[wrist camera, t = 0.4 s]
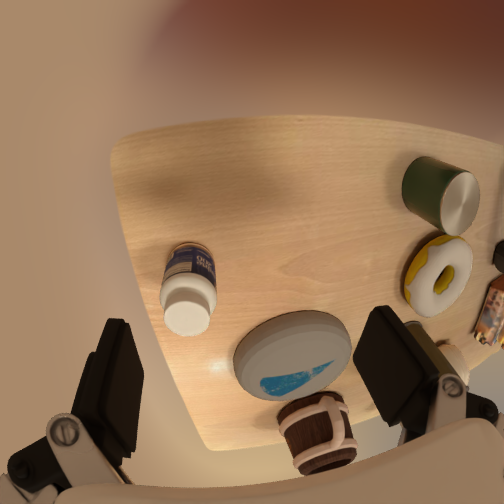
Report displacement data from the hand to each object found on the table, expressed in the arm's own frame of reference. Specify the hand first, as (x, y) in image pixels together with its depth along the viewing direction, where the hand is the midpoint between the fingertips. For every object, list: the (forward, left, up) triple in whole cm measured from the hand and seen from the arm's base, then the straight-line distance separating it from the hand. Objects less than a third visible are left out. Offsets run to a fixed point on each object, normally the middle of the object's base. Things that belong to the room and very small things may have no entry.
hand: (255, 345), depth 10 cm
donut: (+13, +32, -21) cm, 40 cm away
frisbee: (+26, +9, -21) cm, 34 cm away
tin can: (-1, +26, -20) cm, 33 cm away
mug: (+44, +15, -21) cm, 50 cm away
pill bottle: (+8, -4, -21) cm, 22 cm away
